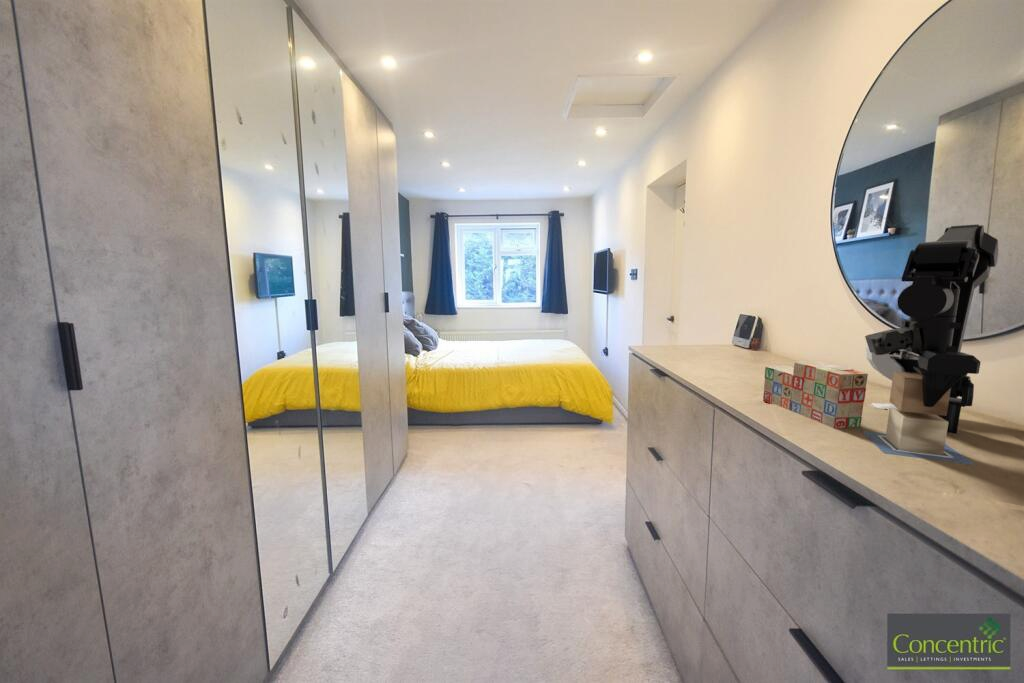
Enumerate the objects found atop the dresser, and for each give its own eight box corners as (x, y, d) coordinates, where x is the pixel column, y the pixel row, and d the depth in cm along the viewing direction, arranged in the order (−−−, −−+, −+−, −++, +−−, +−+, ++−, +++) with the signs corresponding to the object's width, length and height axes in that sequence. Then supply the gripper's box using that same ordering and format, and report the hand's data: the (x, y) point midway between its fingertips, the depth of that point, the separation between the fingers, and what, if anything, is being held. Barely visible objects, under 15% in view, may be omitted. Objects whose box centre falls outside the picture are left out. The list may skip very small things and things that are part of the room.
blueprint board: (938, 442, 80) (939, 439, 80) (976, 468, 69) (977, 464, 69) (860, 433, 85) (860, 430, 84) (883, 456, 74) (884, 452, 74)
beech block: (926, 442, 78) (931, 411, 77) (943, 455, 73) (948, 422, 72) (885, 437, 81) (889, 407, 80) (898, 449, 75) (903, 417, 74)
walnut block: (931, 405, 77) (936, 373, 76) (946, 415, 72) (951, 381, 71) (889, 401, 80) (893, 370, 79) (900, 411, 75) (905, 378, 74)
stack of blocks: (761, 401, 107) (766, 354, 105) (784, 401, 108) (789, 353, 106) (833, 431, 86) (840, 373, 84) (861, 430, 87) (868, 372, 85)
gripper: (856, 310, 85) (847, 385, 87) (895, 318, 68) (883, 411, 70) (929, 311, 80) (917, 390, 83) (989, 321, 63) (973, 419, 66)
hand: (919, 401), depth 75 cm, fingers closed on walnut block, 6 cm apart
